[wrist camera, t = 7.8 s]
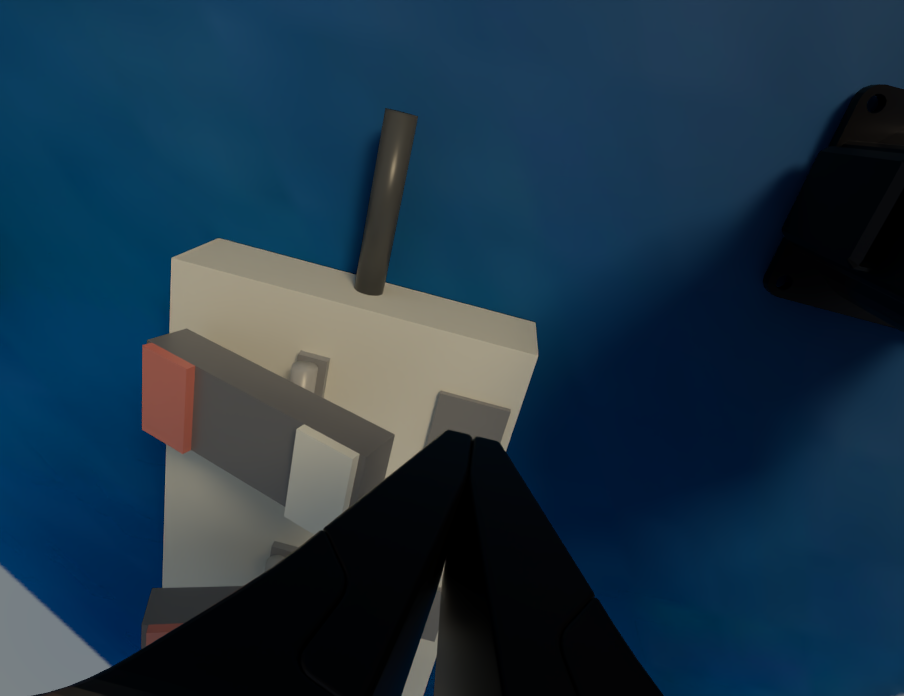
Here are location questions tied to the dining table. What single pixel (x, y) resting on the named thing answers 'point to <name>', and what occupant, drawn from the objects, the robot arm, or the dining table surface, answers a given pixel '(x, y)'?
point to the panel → (335, 376)
